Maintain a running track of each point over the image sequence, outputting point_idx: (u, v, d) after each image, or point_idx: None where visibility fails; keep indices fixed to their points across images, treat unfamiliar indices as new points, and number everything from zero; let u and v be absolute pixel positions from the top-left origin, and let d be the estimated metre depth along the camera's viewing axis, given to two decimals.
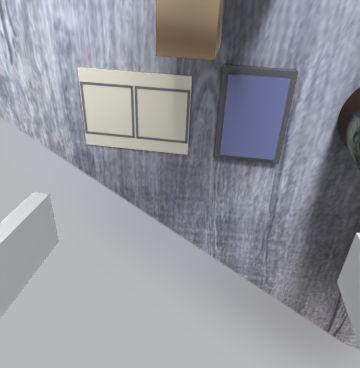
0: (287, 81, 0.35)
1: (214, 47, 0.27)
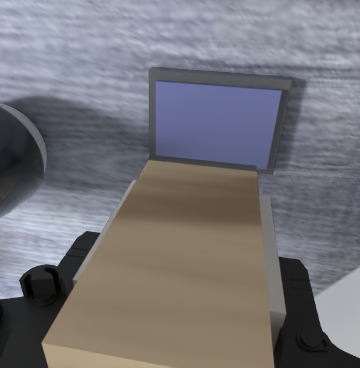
0: (159, 85, 0.25)
1: None
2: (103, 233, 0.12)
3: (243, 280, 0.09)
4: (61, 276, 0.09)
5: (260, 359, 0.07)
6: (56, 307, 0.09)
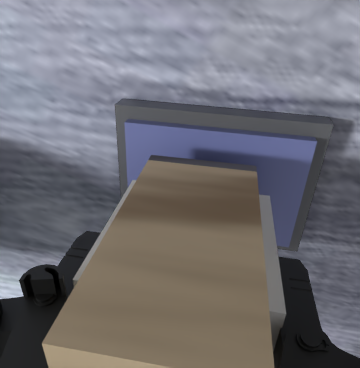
0: (129, 127, 0.17)
1: None
2: (103, 233, 0.12)
3: (243, 281, 0.09)
4: (61, 276, 0.09)
5: (260, 360, 0.07)
6: (56, 307, 0.09)
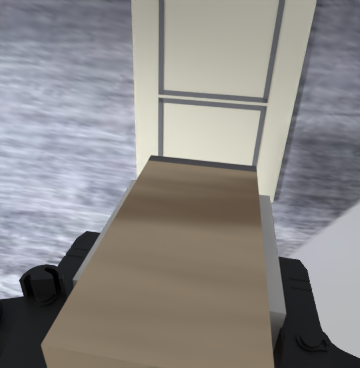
0: None
1: None
2: (103, 233, 0.12)
3: (243, 282, 0.09)
4: (61, 276, 0.09)
5: (261, 362, 0.07)
6: (56, 307, 0.09)
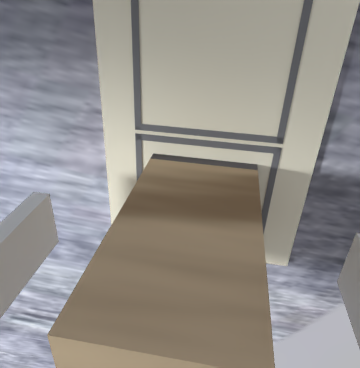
0: None
1: None
2: None
3: (244, 276, 0.09)
4: None
5: (261, 352, 0.07)
6: None
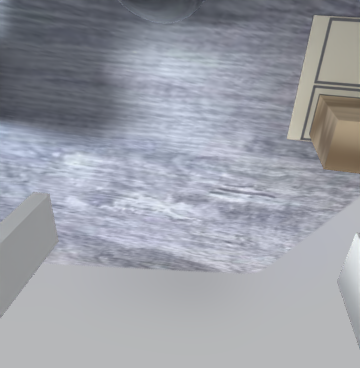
0: None
1: None
2: None
3: None
4: None
5: None
6: None
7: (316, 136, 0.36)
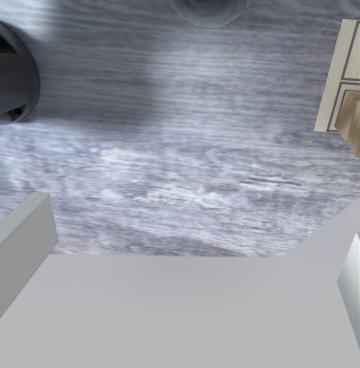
0: None
1: None
2: None
3: None
4: None
5: None
6: None
7: (344, 128, 0.41)
